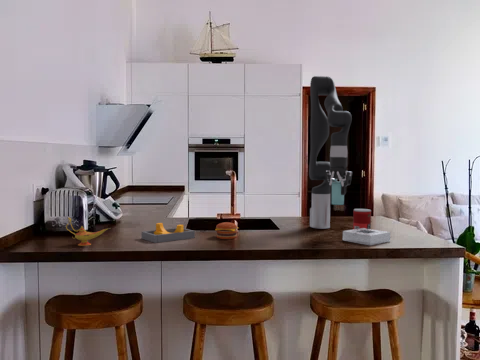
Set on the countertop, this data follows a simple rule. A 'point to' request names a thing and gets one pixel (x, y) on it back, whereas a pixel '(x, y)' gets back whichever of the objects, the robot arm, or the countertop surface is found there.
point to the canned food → (362, 218)
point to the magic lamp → (85, 234)
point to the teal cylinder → (337, 194)
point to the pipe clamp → (161, 230)
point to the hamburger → (226, 230)
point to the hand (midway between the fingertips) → (337, 194)
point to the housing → (366, 236)
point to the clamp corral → (168, 235)
